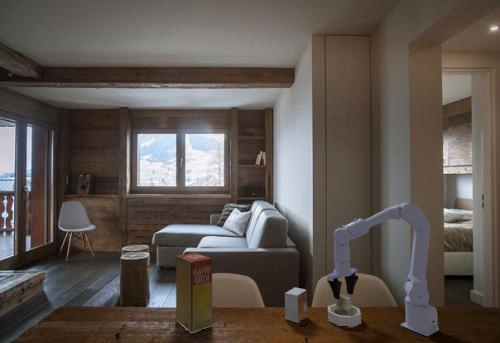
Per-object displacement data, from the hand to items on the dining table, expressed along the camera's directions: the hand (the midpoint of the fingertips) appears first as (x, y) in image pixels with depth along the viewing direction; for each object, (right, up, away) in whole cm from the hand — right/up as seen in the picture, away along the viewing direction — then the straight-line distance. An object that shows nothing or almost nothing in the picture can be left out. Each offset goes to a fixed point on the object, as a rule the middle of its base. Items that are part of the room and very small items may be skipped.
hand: (343, 296), depth 114 cm
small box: (-18, -9, +1) cm, 20 cm away
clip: (0, -9, 0) cm, 9 cm away
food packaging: (-56, -10, -2) cm, 57 cm away
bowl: (0, -9, 0) cm, 9 cm away
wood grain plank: (0, -8, 0) cm, 8 cm away
